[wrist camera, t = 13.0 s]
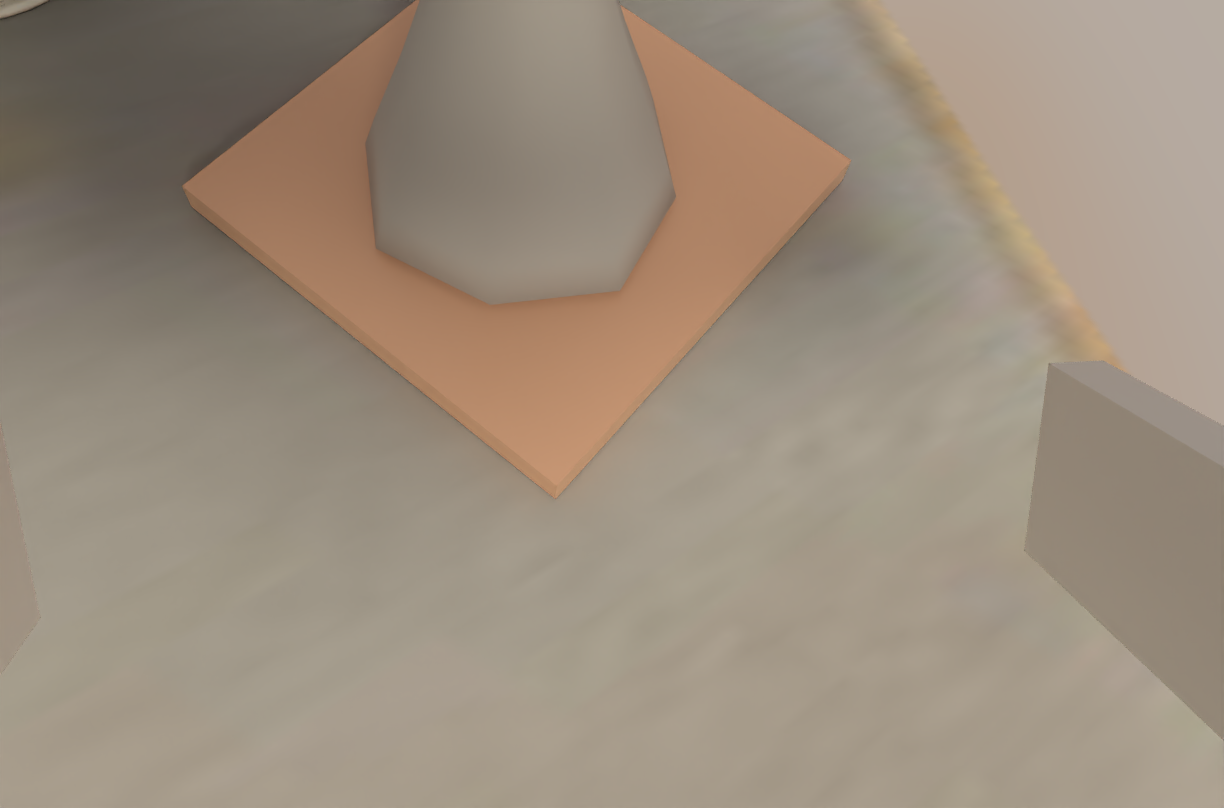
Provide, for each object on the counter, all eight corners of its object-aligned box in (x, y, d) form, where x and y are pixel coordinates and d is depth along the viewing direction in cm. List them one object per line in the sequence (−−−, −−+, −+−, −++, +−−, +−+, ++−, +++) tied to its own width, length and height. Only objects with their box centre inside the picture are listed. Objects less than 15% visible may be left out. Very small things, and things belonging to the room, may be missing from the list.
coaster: (191, 206, 26) (182, 186, 25) (506, -48, 30) (506, -72, 29) (555, 499, 23) (557, 486, 23) (842, 180, 27) (851, 160, 27)
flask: (653, 339, 24) (737, -5, 15) (326, 282, 24) (213, -97, 15) (693, 84, 27) (782, -329, 18) (402, 33, 27) (347, -407, 18)
